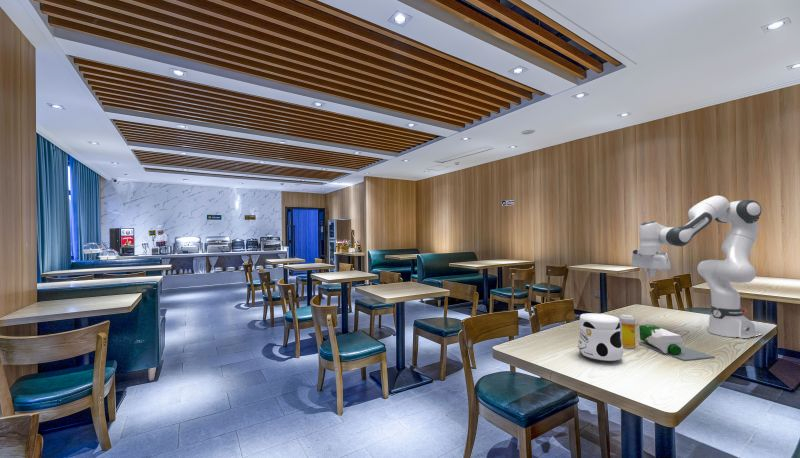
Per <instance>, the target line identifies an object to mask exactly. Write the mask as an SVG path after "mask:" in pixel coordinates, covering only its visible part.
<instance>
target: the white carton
mask: <svg viewBox="0 0 800 458" xmlns="http://www.w3.org/2000/svg"><path fill="white" fill-rule="evenodd" d="M638 327H639V339H640V341H642V342H643V343H649V344H651V345H653V346H655V347H657V348H659V349H660V350H662V351H663V352H664V353H671V354H675V355H679V354H680V353H682V346H683V343H682V342H683V341H682V335H681V334H677V333H675V332H672V331H669V330H667V329H664V328H662V327H660V326H657V325H655V324H644V325H640V324H639V326H638Z"/></svg>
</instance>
